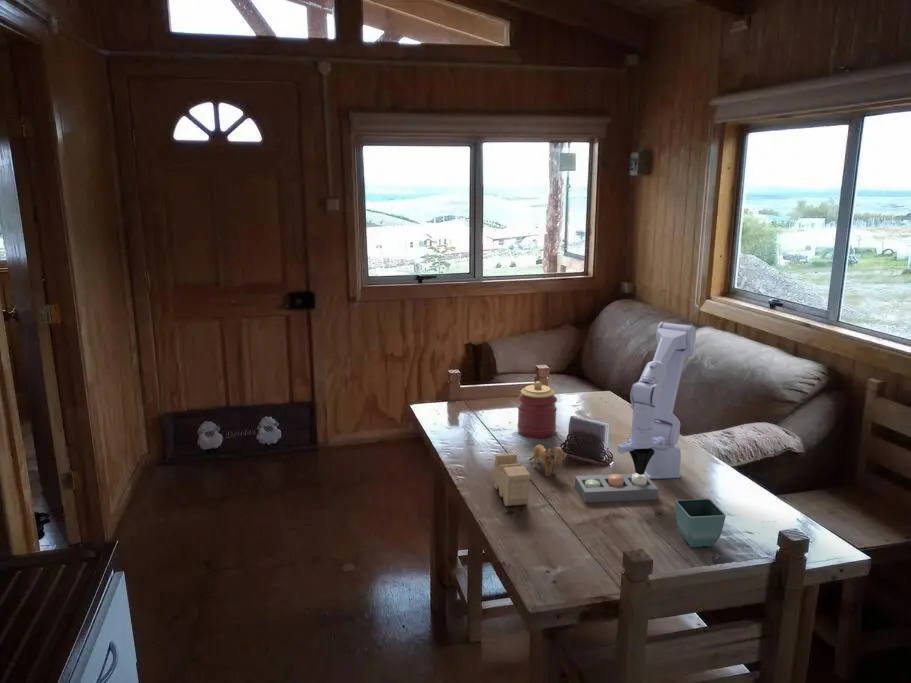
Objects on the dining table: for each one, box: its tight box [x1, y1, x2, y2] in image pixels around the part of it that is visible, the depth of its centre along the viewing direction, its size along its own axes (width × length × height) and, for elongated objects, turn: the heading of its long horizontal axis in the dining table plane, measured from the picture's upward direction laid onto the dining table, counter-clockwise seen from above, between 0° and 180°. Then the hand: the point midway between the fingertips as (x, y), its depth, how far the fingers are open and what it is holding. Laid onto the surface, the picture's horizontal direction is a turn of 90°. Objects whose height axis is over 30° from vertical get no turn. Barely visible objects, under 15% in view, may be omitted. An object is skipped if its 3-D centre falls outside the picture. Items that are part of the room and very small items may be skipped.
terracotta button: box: [608, 473, 624, 487], centre depth 187 cm, size 4×4×3 cm
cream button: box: [631, 472, 647, 486], centre depth 188 cm, size 4×4×3 cm
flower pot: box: [674, 498, 727, 548], centre depth 162 cm, size 9×9×9 cm
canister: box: [516, 380, 558, 439], centre depth 230 cm, size 13×13×18 cm
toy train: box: [492, 452, 531, 507], centre depth 185 cm, size 6×17×10 cm, turn 11°
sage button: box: [585, 479, 600, 488], centre depth 187 cm, size 4×4×3 cm
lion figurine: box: [528, 444, 568, 477], centre depth 201 cm, size 15×5×9 cm, turn 34°
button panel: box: [574, 473, 659, 503], centre depth 187 cm, size 20×10×3 cm, turn 95°
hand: (639, 473), depth 187 cm, fingers closed
